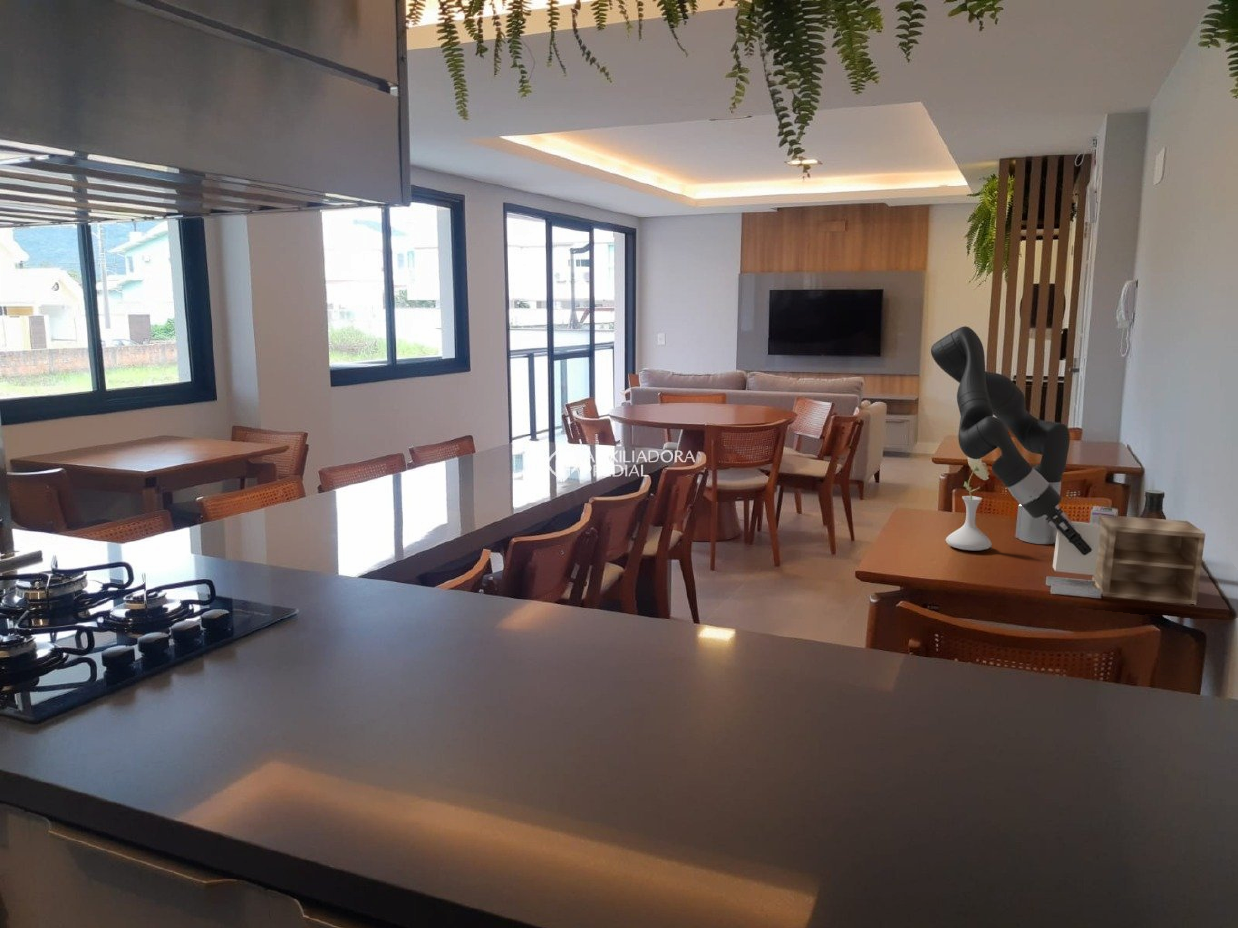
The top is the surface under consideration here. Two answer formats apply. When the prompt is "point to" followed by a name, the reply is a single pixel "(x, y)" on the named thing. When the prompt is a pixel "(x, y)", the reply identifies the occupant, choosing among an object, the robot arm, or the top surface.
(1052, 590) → the grey slotted stand
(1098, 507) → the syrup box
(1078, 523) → the white rectangular block
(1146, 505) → the sauce bottle
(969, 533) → the flower in vase
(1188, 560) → the carcass
